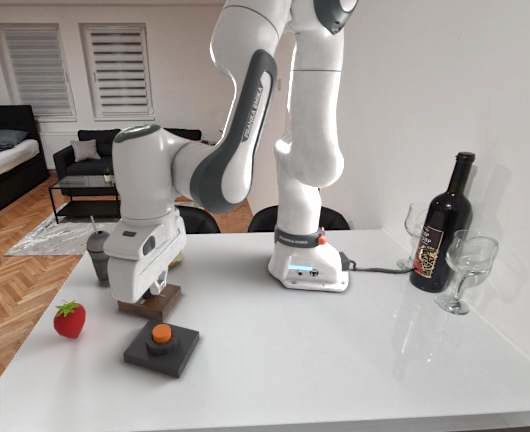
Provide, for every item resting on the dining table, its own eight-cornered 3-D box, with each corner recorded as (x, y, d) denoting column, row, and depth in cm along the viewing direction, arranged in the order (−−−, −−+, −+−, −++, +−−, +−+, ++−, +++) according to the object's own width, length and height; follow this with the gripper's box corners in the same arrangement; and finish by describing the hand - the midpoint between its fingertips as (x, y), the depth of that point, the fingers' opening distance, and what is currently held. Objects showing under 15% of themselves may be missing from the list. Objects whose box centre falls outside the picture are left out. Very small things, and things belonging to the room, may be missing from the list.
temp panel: (181, 295, 79) (181, 285, 77) (163, 322, 70) (161, 311, 69) (141, 286, 82) (140, 277, 81) (119, 310, 74) (117, 300, 72)
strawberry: (53, 352, 62) (41, 314, 58) (68, 325, 69) (58, 289, 65) (82, 350, 63) (72, 313, 59) (94, 324, 70) (86, 288, 66)
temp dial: (147, 286, 77) (145, 274, 76) (161, 289, 76) (159, 277, 75) (138, 296, 74) (136, 283, 72) (153, 299, 73) (151, 286, 71)
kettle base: (199, 339, 65) (198, 324, 64) (179, 378, 57) (177, 363, 55) (150, 326, 69) (149, 312, 67) (124, 361, 60) (121, 346, 59)
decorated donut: (188, 264, 92) (187, 253, 91) (154, 275, 87) (153, 264, 85) (173, 249, 100) (172, 239, 99) (141, 259, 95) (140, 248, 93)
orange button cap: (174, 332, 62) (173, 326, 62) (165, 345, 59) (165, 339, 59) (158, 328, 63) (158, 322, 63) (149, 341, 60) (148, 334, 60)
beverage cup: (113, 291, 80) (100, 223, 72) (88, 288, 82) (73, 221, 73) (126, 275, 87) (116, 211, 79) (103, 272, 88) (91, 209, 80)
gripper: (163, 201, 62) (169, 259, 67) (94, 250, 44) (111, 323, 50) (191, 204, 60) (195, 263, 65) (132, 257, 42) (144, 332, 48)
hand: (158, 290), depth 57 cm, fingers closed
